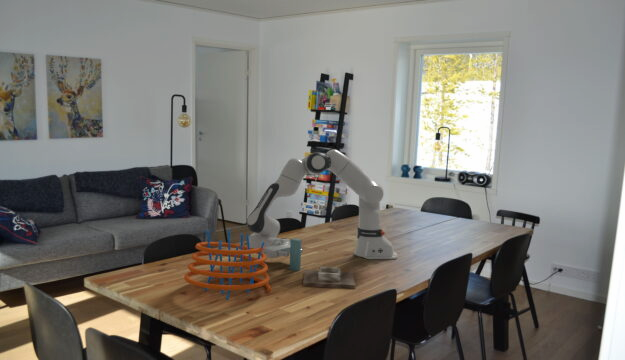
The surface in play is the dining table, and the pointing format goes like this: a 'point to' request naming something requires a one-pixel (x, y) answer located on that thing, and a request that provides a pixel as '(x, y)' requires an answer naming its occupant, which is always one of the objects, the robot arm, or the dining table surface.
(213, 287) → the toy basket
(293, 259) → the post
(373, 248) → the robot arm
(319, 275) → the jig board
